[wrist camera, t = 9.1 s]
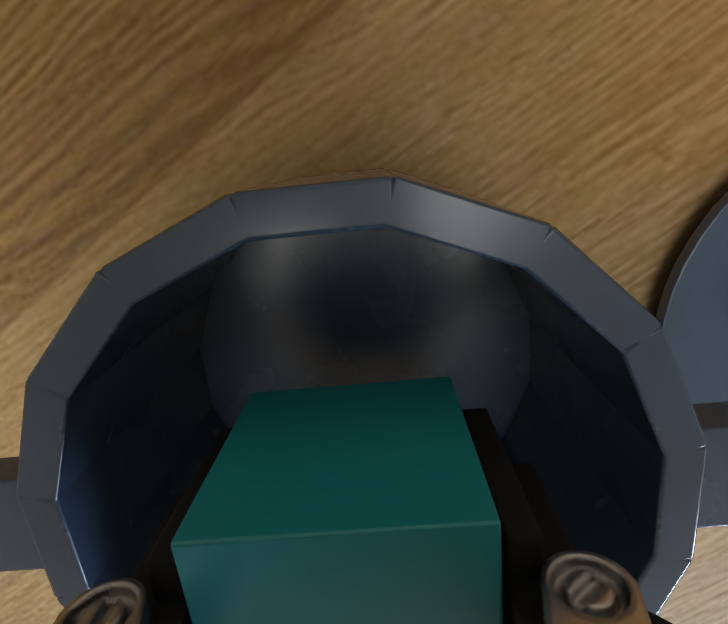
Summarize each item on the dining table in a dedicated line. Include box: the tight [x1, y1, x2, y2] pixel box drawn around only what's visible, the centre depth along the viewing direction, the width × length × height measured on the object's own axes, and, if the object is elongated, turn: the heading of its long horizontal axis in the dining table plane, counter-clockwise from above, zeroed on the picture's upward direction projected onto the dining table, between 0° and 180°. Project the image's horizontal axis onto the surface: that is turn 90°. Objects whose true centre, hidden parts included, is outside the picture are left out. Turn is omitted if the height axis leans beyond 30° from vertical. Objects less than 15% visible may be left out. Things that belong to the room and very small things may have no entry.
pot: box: [0, 168, 728, 615], centre depth 13 cm, size 13×19×8 cm
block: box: [171, 377, 503, 624], centre depth 9 cm, size 4×4×4 cm
